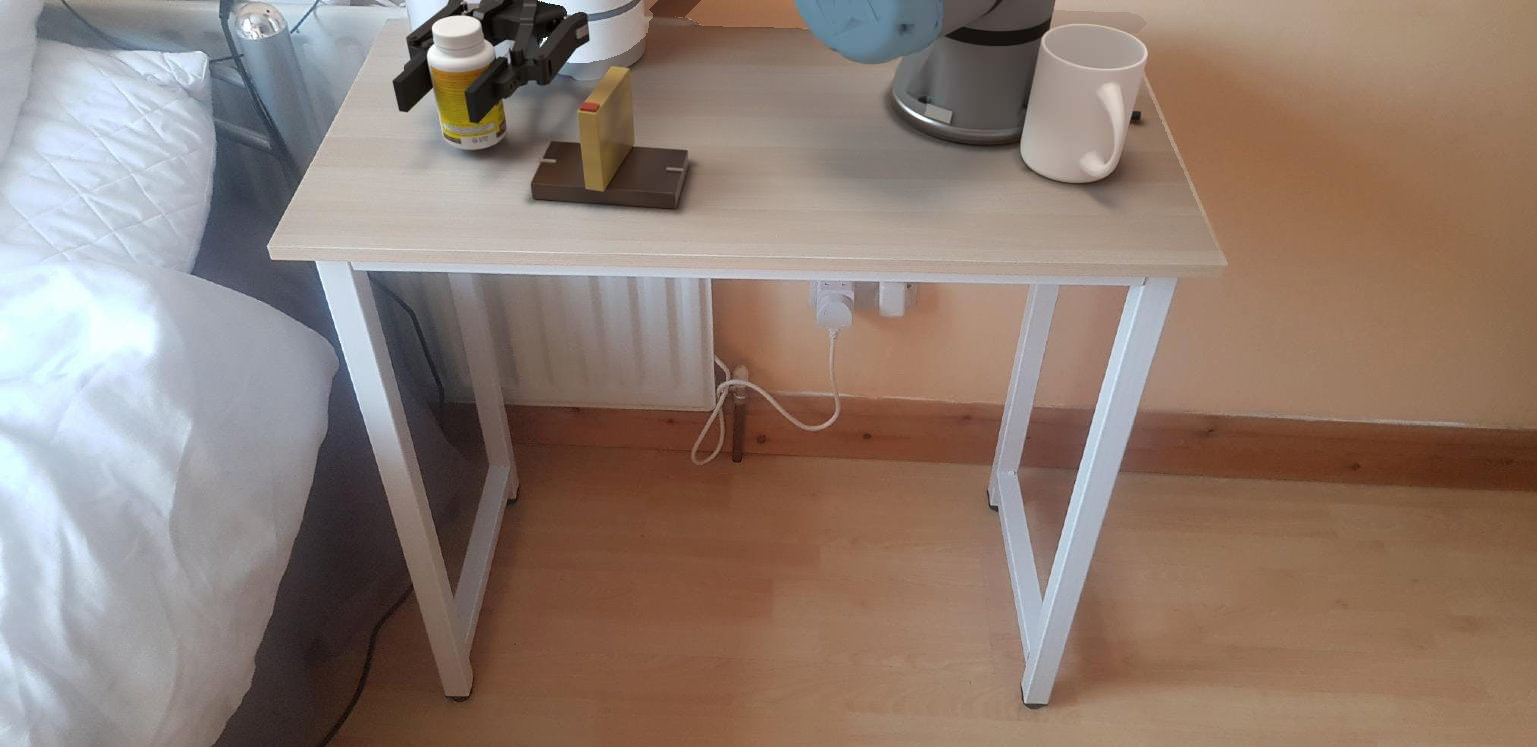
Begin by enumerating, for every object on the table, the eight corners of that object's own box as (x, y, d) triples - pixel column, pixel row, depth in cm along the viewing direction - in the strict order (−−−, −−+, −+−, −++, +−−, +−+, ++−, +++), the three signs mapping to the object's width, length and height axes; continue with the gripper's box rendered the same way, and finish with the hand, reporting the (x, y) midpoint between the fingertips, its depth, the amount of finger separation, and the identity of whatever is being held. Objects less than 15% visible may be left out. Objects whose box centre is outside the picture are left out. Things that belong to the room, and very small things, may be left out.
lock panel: (689, 164, 94) (689, 148, 93) (677, 209, 89) (676, 192, 88) (551, 155, 95) (549, 138, 94) (531, 199, 89) (528, 181, 88)
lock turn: (617, 140, 94) (611, 62, 89) (635, 143, 93) (629, 65, 89) (585, 189, 88) (576, 108, 83) (603, 192, 88) (596, 111, 83)
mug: (1052, 212, 90) (1080, 93, 82) (1005, 138, 98) (1026, 26, 91) (1149, 204, 91) (1185, 86, 84) (1094, 132, 100) (1122, 20, 92)
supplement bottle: (513, 147, 94) (496, 35, 87) (448, 157, 93) (425, 44, 86) (502, 116, 98) (485, 7, 91) (439, 126, 97) (417, 15, 90)
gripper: (642, 40, 105) (548, 160, 88) (465, 15, 108) (342, 127, 92) (637, -37, 100) (537, 75, 83) (452, -61, 103) (320, 43, 87)
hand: (435, 102), depth 88 cm, fingers closed on supplement bottle, 6 cm apart
